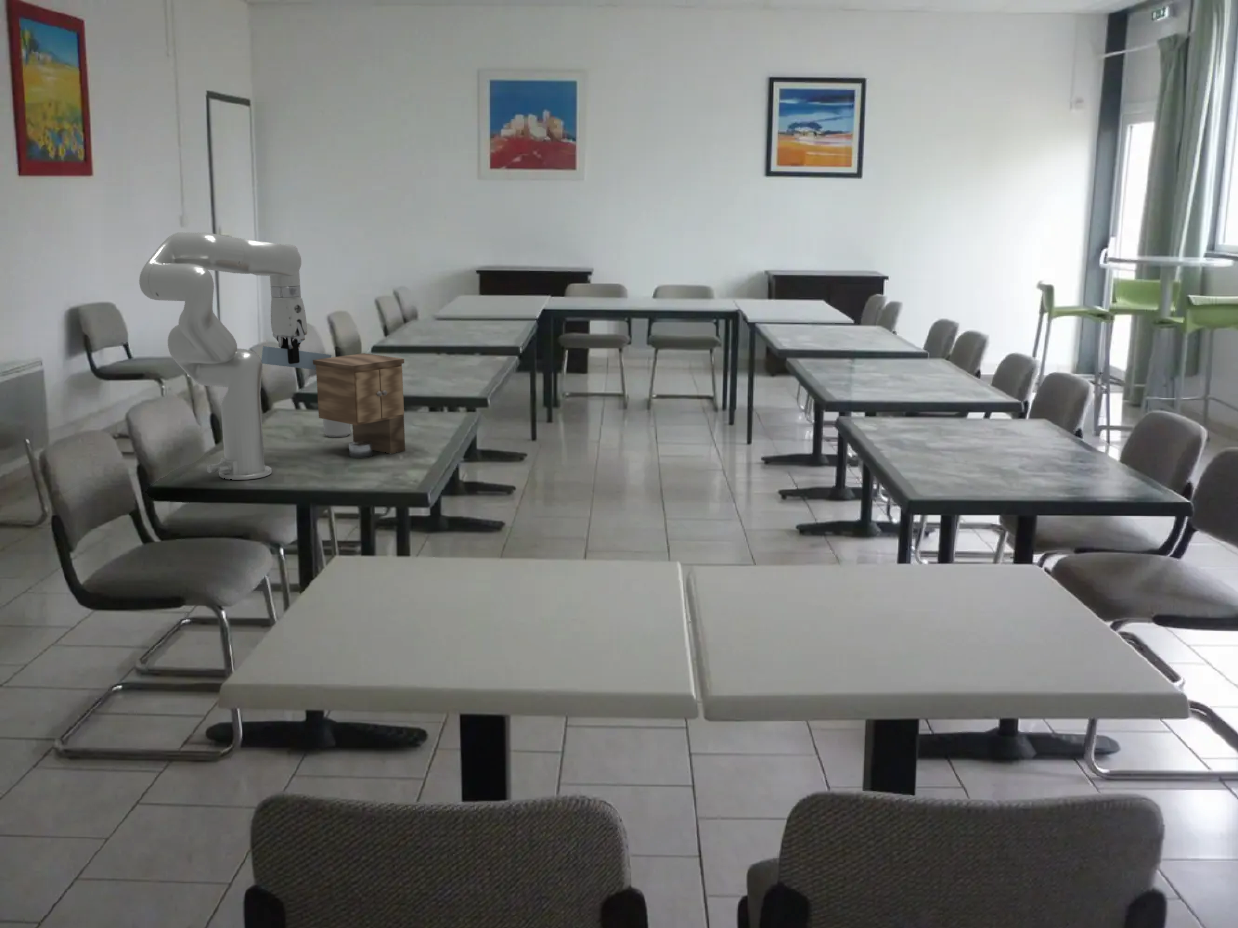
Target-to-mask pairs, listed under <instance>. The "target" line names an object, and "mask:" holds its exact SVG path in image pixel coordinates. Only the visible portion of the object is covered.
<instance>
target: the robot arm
mask: <svg viewBox="0 0 1238 928" xmlns="http://www.w3.org/2000/svg"><path fill="white" fill-rule="evenodd" d="M301 266H302V256H301V254H300V252H299V250H298V248H297V246H296V245H293V244H282V243H276V242H269V241H267V242H266V241H261V240H259V241H258V240H254V239H249V238H248V239H247V238H239V237H233V236H228V235H223V234H217V233H210V232H175V233H173V234H171V235H170V236H168V237H167V238H166V239H165V240H164V241H163V242H162V243H161V244H160V245H159V247H158V248H157V249H156V250H155V252H154V253H153V254H152V255H151V257H150V258H149V259H148V261H146V262H145V264H144V265H143V267H142V269H141V272H140V273H139V280H138V281H139V282H138V283H139V288H140V291H141V293H142V294H143V295H144V296H146V297H147V298H148V299H150V300H155V301H167V302H168V301H169V302H170V301H171V302H173V301H174V302H184V305H183V309H182V311H181V313H180V315H179V318H178V324H177V325H175V326H174V327H172V328H171V330H170V332H169V333H168V335H167V336H168V337H167V348H168V351H169V354H170V356H171V358H172V359H173V362H175V363H176V365H178V366H179V367H180V368H181V370H183V371H184V373H186V374H187V375H188V376H189V377H190V378H191V380H193V381H194V382H195V383H196V384H199V385H201V386H205V387H206V386H207V387H218V388H219V387H223V388H227V391H226V393H225V395H224V397H223V398H222V400H221V403H220V413H221V414H220V415H221V428H222V440H223V441H222V442H223V443H222V444H223V455H224V457H221V458H220V461H219V462H218V463H216V464H215V463H213V464H209V465H207V466H206V469H207V470H206V471H207V473H209V474H212V473H217V472H218V475H219V477H220V478H222V479H224V478H225V480H230V479H232V481H233V480H234V481H235V480H236V481H240V480H241V481H244V480H254V479H255V480H256V479H260V478H264V477H268V476H269V475H272V472H273V471H272V467H270V466H269V465H266V464H265V463H266V462H265V451H264V446H265V445H264V435H263V434H264V433H263V432H264V431H263V420H262V419H263V418H262V404H261V403H262V402H261V386H262V377H263V371H264V369H263V363H262V361H261V359H262V358H261V357H260V355H258V353H256V352H255V351H253V350H250V349H247V348H238V343H237V341H236V338H235V337H234V336H233V334H232V333H231V332H230V331H229V330H228V328H227V327H226V325H224V324H223V322H222V321H221V320H220V319H219V317H218V316H216V314H215V312H214V309H213V308H214V307H213V304H214V290H215V289H214V288H215V286H214V284H215V283H214V278H213V276H212V274H211V272H210V271H216V272H223V273H224V272H225V273H231V274H241V275H242V274H244V275H245V274H246V275H247V274H248V275H249V274H252V275H255V276H261V277H262V276H263V277H265V276H267V277H269V284H270V286H269V287H270V298H271V299H270V327H271V332H272V337H273V338H274V339H275V340H276V341H277V343H278V348H282V349H287V350H288V363H289V364H294V363H299V362H300V359H299V351H300V347H301V344H302V342H304V341H305V340H306V337H305V336H307V335H308V323H307V314H306V309H305V304H304V301H303V298H302V294H301V293H302V292H301V276H300V269H301Z"/></svg>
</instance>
